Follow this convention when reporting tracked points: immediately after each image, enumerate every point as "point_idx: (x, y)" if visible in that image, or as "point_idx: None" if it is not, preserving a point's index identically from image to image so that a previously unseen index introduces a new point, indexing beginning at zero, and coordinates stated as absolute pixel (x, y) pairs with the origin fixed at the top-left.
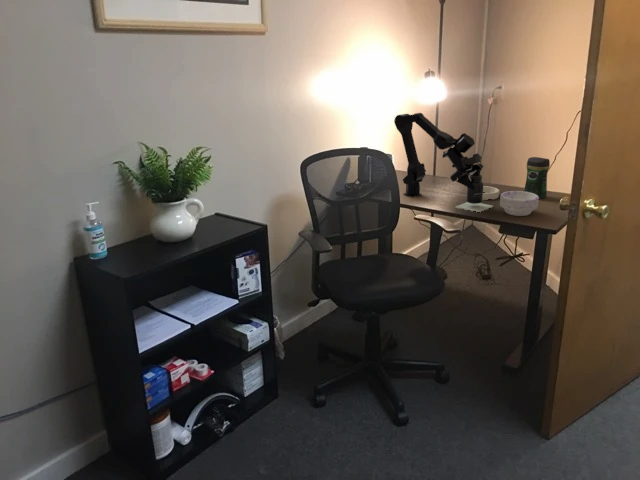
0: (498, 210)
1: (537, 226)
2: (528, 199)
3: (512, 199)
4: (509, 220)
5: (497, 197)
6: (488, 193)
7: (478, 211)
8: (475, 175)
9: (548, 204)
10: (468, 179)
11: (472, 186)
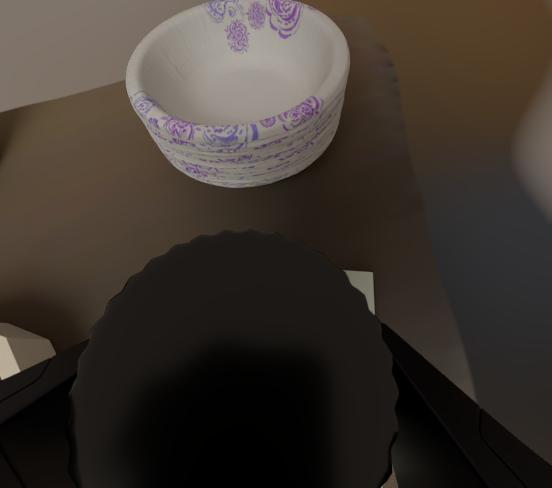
0: (261, 216)
1: (377, 43)
2: (183, 74)
3: (346, 48)
4: (381, 124)
5: (4, 323)
6: (16, 362)
7: (370, 279)
8: (238, 398)
9: (71, 107)
10: (537, 477)
11: (407, 345)
